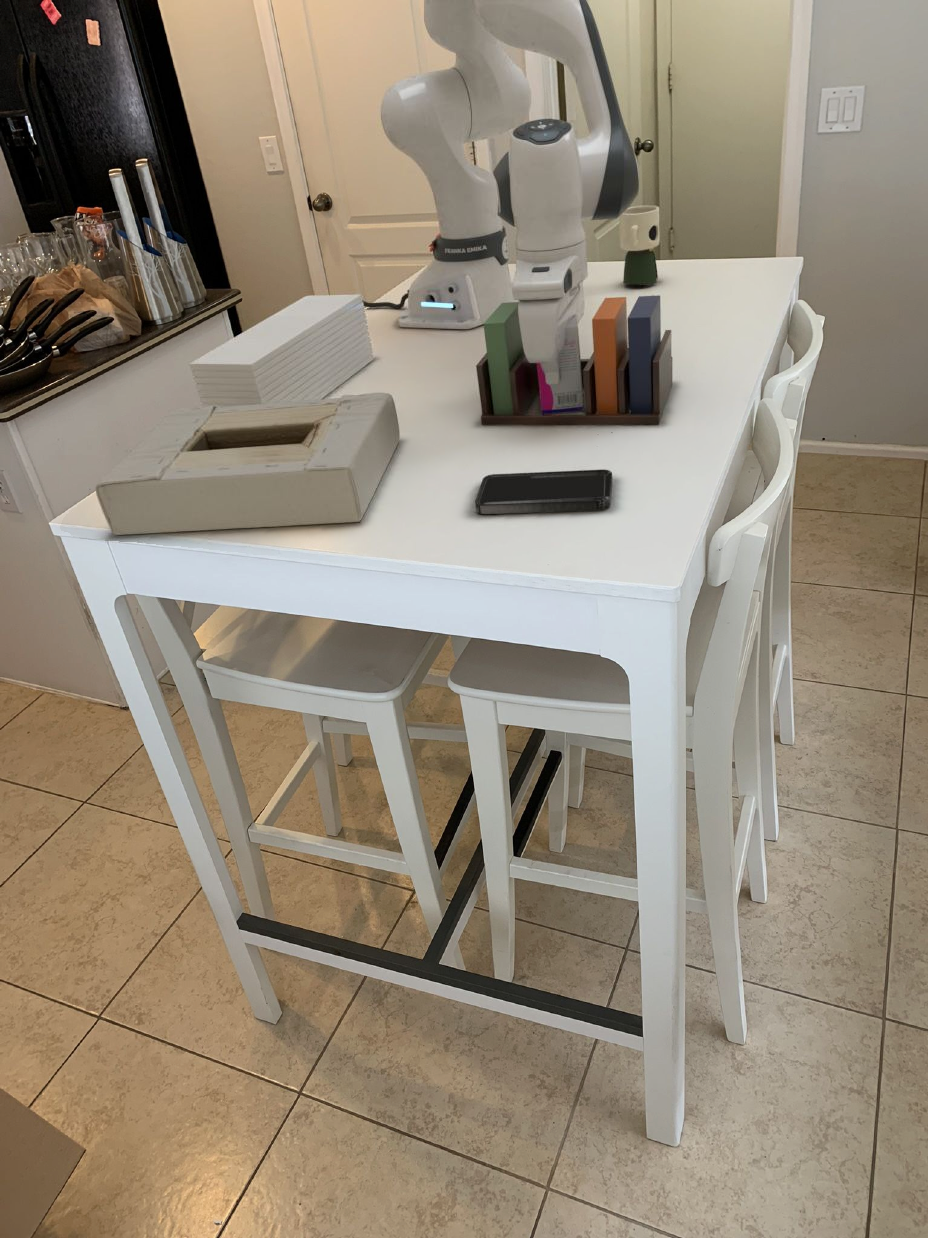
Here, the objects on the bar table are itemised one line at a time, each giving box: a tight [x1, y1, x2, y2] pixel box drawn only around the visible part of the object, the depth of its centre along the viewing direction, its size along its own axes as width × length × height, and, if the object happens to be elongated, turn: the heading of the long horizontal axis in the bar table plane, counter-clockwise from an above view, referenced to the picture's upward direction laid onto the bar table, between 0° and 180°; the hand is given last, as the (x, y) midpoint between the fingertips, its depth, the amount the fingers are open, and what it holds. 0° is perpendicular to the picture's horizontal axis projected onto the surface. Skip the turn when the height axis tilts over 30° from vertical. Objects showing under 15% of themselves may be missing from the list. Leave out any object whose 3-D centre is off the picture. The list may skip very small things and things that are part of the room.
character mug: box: [618, 204, 661, 287], centre depth 165 cm, size 11×7×13 cm, turn 159°
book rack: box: [475, 329, 674, 426], centre depth 122 cm, size 24×14×8 cm, turn 72°
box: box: [95, 392, 401, 536], centre depth 114 cm, size 23×8×32 cm
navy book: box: [627, 294, 662, 414], centre depth 118 cm, size 3×9×13 cm, turn 162°
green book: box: [482, 301, 524, 415], centre depth 124 cm, size 3×9×13 cm, turn 162°
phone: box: [474, 469, 613, 515], centre depth 103 cm, size 8×1×15 cm
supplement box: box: [537, 315, 584, 414], centre depth 122 cm, size 6×6×12 cm
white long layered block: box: [188, 293, 375, 407], centre depth 140 cm, size 32×11×11 cm, turn 157°
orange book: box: [591, 296, 628, 414], centre depth 119 cm, size 3×9×13 cm, turn 162°
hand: (560, 372), depth 122 cm, fingers closed on supplement box, 6 cm apart
